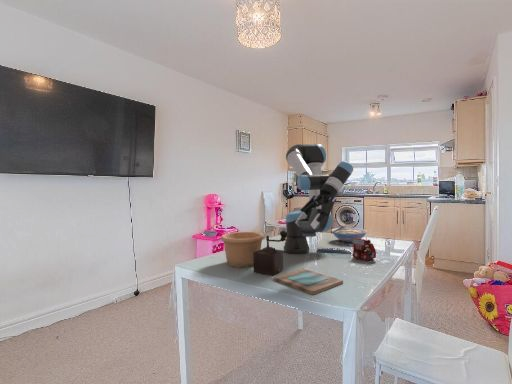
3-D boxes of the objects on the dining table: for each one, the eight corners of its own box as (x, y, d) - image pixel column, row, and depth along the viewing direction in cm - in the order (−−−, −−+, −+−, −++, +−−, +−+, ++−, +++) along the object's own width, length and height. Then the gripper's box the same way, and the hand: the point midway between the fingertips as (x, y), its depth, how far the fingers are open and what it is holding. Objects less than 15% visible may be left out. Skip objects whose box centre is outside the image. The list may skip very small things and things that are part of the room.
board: (273, 279, 127) (273, 276, 127) (302, 271, 138) (302, 268, 138) (313, 294, 110) (313, 290, 110) (343, 283, 121) (343, 279, 121)
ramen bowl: (361, 246, 184) (361, 233, 184) (326, 243, 197) (325, 230, 196) (371, 239, 205) (371, 227, 205) (338, 236, 217) (337, 225, 217)
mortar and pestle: (312, 238, 126) (311, 209, 126) (294, 236, 132) (293, 209, 132) (325, 234, 134) (325, 207, 134) (308, 232, 141) (307, 207, 140)
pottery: (217, 260, 161) (216, 233, 160) (256, 255, 168) (255, 230, 168) (227, 271, 140) (226, 241, 140) (271, 265, 148) (270, 236, 147)
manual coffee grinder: (273, 276, 132) (272, 235, 131) (252, 272, 138) (252, 233, 137) (290, 267, 144) (289, 230, 144) (270, 264, 151) (270, 228, 150)
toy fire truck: (372, 262, 150) (371, 241, 149) (349, 258, 159) (349, 238, 158) (378, 259, 154) (378, 239, 154) (356, 255, 164) (356, 236, 163)
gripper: (310, 183, 147) (284, 218, 140) (344, 182, 128) (316, 222, 120) (319, 194, 150) (294, 228, 143) (353, 194, 130) (327, 234, 123)
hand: (304, 225), depth 131 cm, fingers closed on mortar and pestle, 10 cm apart
